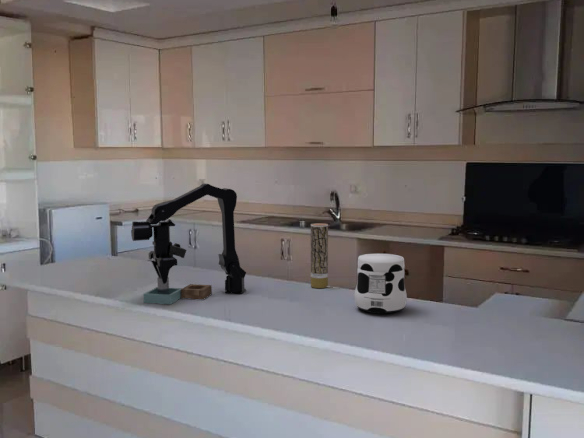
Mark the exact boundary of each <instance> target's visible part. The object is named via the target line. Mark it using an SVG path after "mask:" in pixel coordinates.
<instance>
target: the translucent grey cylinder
mask: <svg viewBox="0 0 584 438" xmlns="http://www.w3.org/2000/svg"><path fill="white" fill-rule="evenodd" d="M169 278H170V277H169V276H168V278H167V282H166V283H163V281H162V279H161V277H157V278H156V279H157V281H156V283H157V287H158V294H168V295H169V288H170V282H169V281H170V279H169Z"/></svg>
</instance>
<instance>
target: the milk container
mask: <svg viewBox="0 0 584 438" xmlns="http://www.w3.org/2000/svg"><path fill="white" fill-rule="evenodd" d="M405 267H406V266H405V258H404V256H401V255H397V254H394V253H393V254H392V253H365V254H360V255H359V256H358V258H357V270H356V271H357V283H356V286H355V289H354V301H355V302H354V303H355V305H356V307H357V308H358V309H360V310H361V311H365V312H367V313H373V314H393V313H397V312H400V311H402V310H403V309H404V308H405V307H406V306H407V305H406V303H407V296H408V295H407V290H406V286H405Z"/></svg>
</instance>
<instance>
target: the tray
mask: <svg viewBox="0 0 584 438" xmlns="http://www.w3.org/2000/svg"><path fill="white" fill-rule="evenodd" d="M181 289H182V288H179V287H178V288H177V287H169V295H168V294H158V286H156V287H154V288H152V289H150V290H148V291H146V292H144V293H143V304H155V303H158V304H159V305H172V304H174V303H175V301H176V302H178V301H179V300H181V299H180V298H181ZM178 299H179V300H178Z"/></svg>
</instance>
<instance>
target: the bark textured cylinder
mask: <svg viewBox="0 0 584 438" xmlns="http://www.w3.org/2000/svg"><path fill="white" fill-rule="evenodd" d="M328 285H329V224H328V223H322V222H321V223H319V222H318V223H310V287H312V288H315V289H325V288H327V287H328Z"/></svg>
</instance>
